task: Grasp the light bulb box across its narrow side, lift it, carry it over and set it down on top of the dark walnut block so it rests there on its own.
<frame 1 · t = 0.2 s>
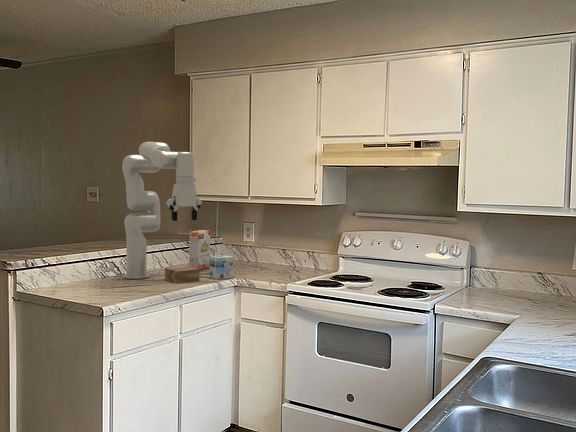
hand: (184, 220, 259), 31 cm above the worktop, fingers open, 9 cm apart
walnut block: (182, 281, 288), on the worktop
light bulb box: (221, 278, 298), on the worktop
cracker box: (199, 269, 325), on the worktop
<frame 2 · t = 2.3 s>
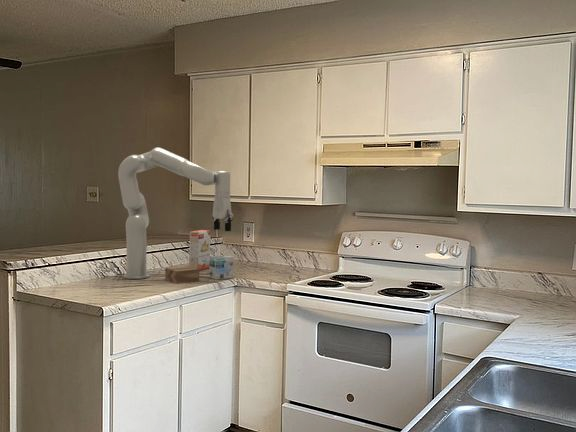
hand: (222, 230, 297), 24 cm above the worktop, fingers open, 9 cm apart
nothing on the worktop moved.
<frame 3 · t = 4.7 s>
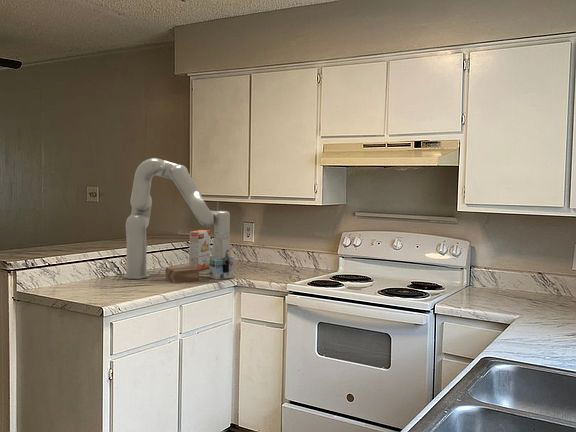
hand: (221, 271, 298), 3 cm above the worktop, fingers closed on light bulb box, 6 cm apart
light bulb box: (221, 278, 298), on the worktop, touching gripper
everything else where it was.
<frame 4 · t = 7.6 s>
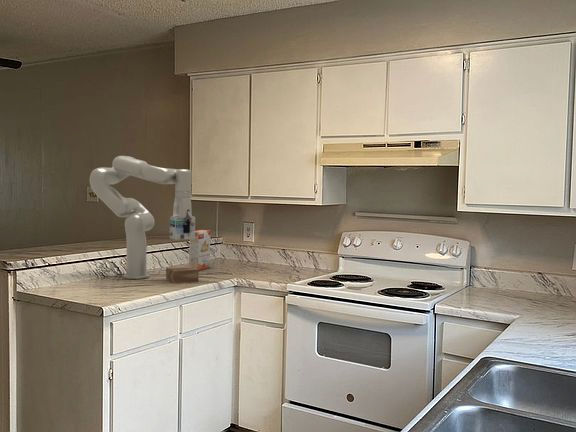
hand: (182, 232, 287), 23 cm above the worktop, fingers closed on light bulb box, 6 cm apart
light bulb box: (182, 239, 287), point 20 cm above the worktop, touching gripper
everything else where it was.
when the fingers open (11 cm above the worktop, at t = 10.5 s): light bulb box drops 2 cm, resting on walnut block.
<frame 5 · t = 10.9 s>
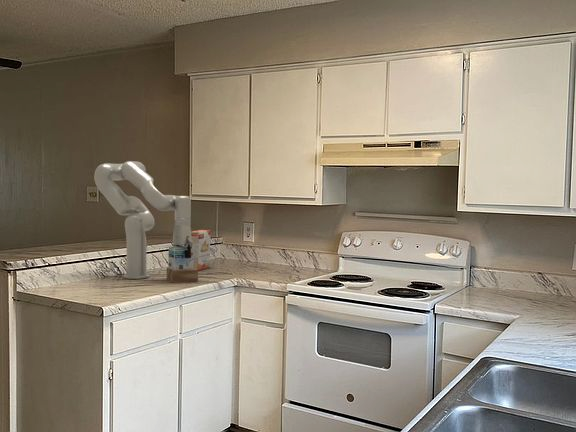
hand: (182, 257, 288), 11 cm above the worktop, fingers open, 9 cm apart
walnut block: (182, 281, 289), on the worktop, touching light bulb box
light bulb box: (181, 269, 289), point 5 cm above the worktop, touching walnut block
everything else where it was.
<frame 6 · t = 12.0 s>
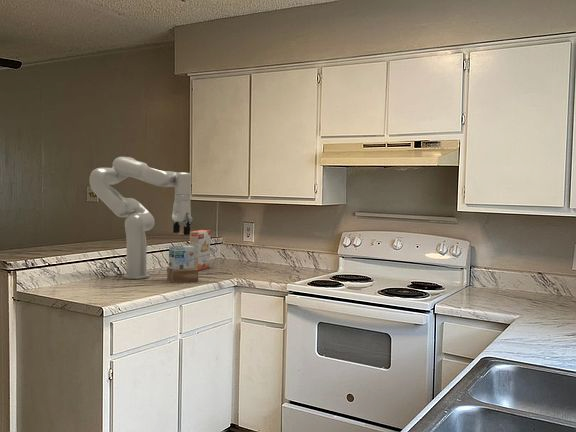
hand: (181, 233, 287), 23 cm above the worktop, fingers open, 9 cm apart
nothing on the worktop moved.
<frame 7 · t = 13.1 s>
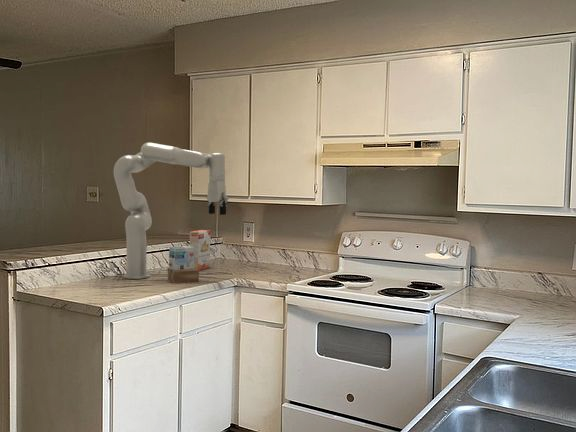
hand: (217, 214, 290), 32 cm above the worktop, fingers open, 9 cm apart
nothing on the worktop moved.
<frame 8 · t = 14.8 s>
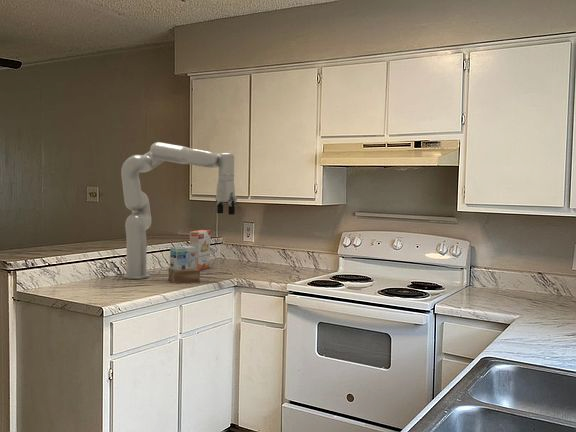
hand: (225, 213, 290), 32 cm above the worktop, fingers open, 9 cm apart
at the end: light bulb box inside the target area on the walnut block (0.7 cm from its centre), point 5.8 cm above the walnut block's base; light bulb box tilted 0°; the gripper is holding nothing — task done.
